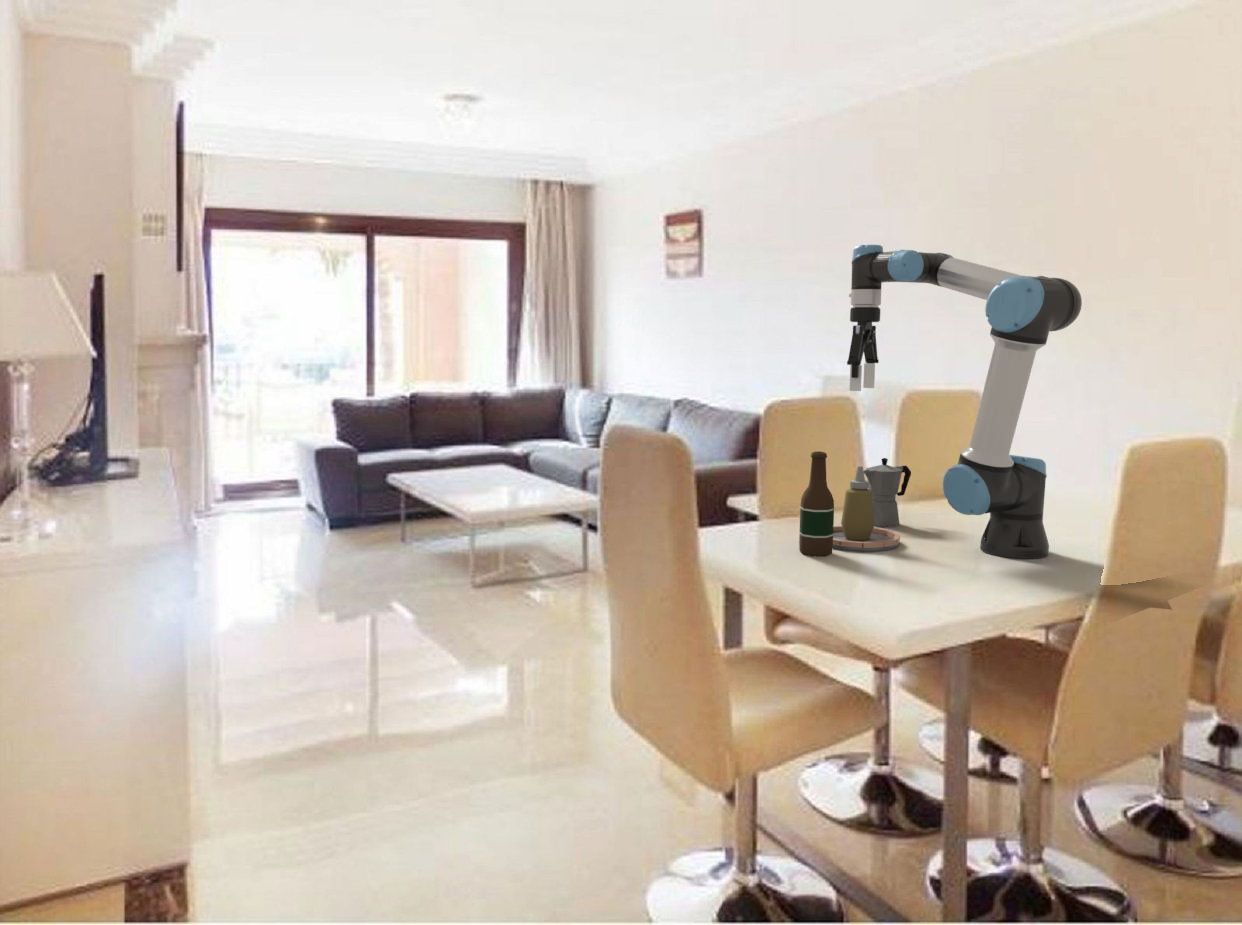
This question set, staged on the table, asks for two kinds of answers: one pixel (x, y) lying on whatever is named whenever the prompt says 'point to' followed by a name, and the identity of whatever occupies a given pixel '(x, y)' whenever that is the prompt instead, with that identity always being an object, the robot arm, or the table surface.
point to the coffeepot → (886, 491)
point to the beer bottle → (817, 511)
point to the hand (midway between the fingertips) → (862, 389)
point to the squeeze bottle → (858, 509)
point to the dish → (866, 541)
